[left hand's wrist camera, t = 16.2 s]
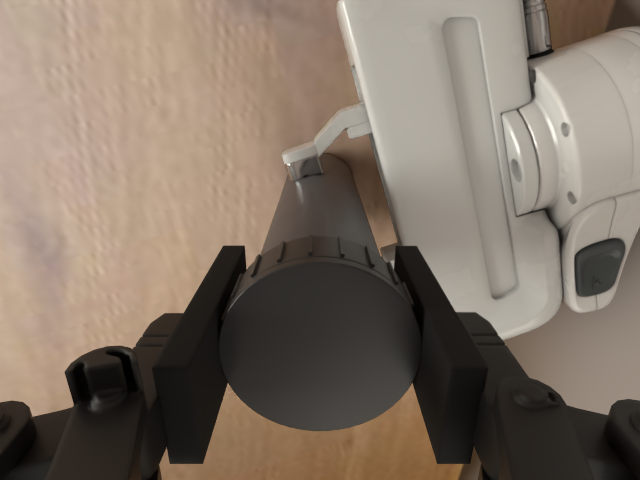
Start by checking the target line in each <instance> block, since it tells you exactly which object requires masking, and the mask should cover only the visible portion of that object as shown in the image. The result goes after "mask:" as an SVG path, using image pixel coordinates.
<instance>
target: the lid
mask: <svg viewBox="0 0 640 480" xmlns="http://www.w3.org/2000/svg"><path fill="white" fill-rule="evenodd" d="M412 307H415V305H414V303H413V301H412V298H411V296H410V293H409V291H408V289H407V286H406V284H405V282H403V283H402V282H401V280H400V279H399V277H398V275H397V274H396V272H395V271H394V269H393V266H392V264H391V262H390V261H388V262H386V261H385V260H384V259H383V258H382V257H380V256H379V255H378V254H376V253H375V252H373V251H372V250H370V247H369V246H367V245H366V247H364V246H363V245H360V244H358V243H355V242H352V241H350V240H346V239H343V237H342V236H339V237H338V238H336V237H328V236H313V235H309V237H305V238H299V239H295V240H291V241H288V242H285V241H282V242H281V243H280V245H278V246H276V247H274V248H272V249H270V250H269V251H267V252H265V253H264V254H263V255H260V254H259V255H258V256H257V257H256V260H255V261H254V262H253V263H252V264H251V265H250V266H249V268H248V269H247V270H246V272H245V273H244V274H240V276H239V278H238V280H237V283H236V285H235V287H234V290H233V292H232V295H231V296H230V299H229V301H228V303H227V306H226V308H225V311H224V313H223V315H222V318H221V322H222V325H221V329H220V334H219V342H218V343H219V355H220V363H221V367H222V370H223V373H224V375H225V377H226V380H227V382H228V383H229V385H230V386H231V388H232V389H233V391H234V392H235V393H236V395H237V396H238V397H239V398H240V399H241V400H242V401H243V402H244V403H245V404H246V405H247V406H248V407H250V408H251V409H252V410H254V411H255V412H257V413H258V414H260V415H261V416H263V417H265V418H267V419H269V420H271V421H273V422H276V423H278V424H281V425H284V426H288V427H291V428H296V429H301V430H310V431H331V430H340V429H344V428H349V427H353V426H356V425H359V424H362V423H365V422H367V421H369V420H372V419H374V418H375V417H377V416H379V415H381V414H382V413H384V412H385V411H387V410H388V409H389V408H391V407H392V406H393V405H394V404H395V403H396V402H397V401H398V400H400V399H401V397H402V396H403V395H404V394H405V393H406V391H407V390H408V389H409V387H410V385H411V384H412V382H413V381H414V378H415V376H416V374H417V371H418V369H419V365H420V357H421V348H422V336H421V331H420V327H419V324H418V321H417V319H416V316H415V314H414V311H413V309H412Z"/></svg>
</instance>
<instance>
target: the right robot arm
mask: <svg viewBox="0 0 640 480" xmlns="http://www.w3.org/2000/svg"><path fill="white" fill-rule="evenodd" d="M544 1H545V0H338V3H337V8H336V14H337V18H338V22H339V26H340V30H341V33H342V37H343V41H344V45H345V48H346V52H347V56H348V59H349V63H350V67H351V71H352V74H353V78H354V82H355V85H356V89H357V93H358V97H359V100H360V103H357V104H354V105H351V106H348V107H345V108H342V109H339V110H338V111H337V112H336V114H335V115H334V116H333V117H332V118H331V119H330V120H329V122H328V123H327V124H326V125H325V126H324V127H323V128H322V130H321V131H320V132H319V133H318V134H317V135H316V136H315V137H314V140H313V141H310V142H307V143H304V144H301V145H298V146H295V147H292V148H290V149H287V150H285V151H283V153H282V158H283V161H284V164H285V166H286V169H287V172H288V174H289V177H290V180H291V181H297V180H300V179H302V178H303V177H304V176H305V175H308V176H312V175H316V174H319V173H322V172H323V169H322V168H323V165H322V162H321V159H320V156H321V154H322V153H323V152H324V151H325V150H326V149H327V148H328V147H329V146H330V145H331V144H332V143H333V141H334V140H335V139H336V138H337V137H338V136H339V135H340V134H341V133H342V132H343V131H344V129H345V130H346V133H347V135H348V137H349V138H350V139H354V138H357V137H360V136H364V135H367V134H369V137H370V141H371V145H372V149H373V152H374V156H375V160H376V163H377V167H378V171H379V175H380V178H381V182H382V186H383V189H384V193H385V197H386V201H387V204H388V208H389V212H390V215H391V219H392V223H393V227H394V230H395V234H396V238H397V241H398V243H395V244H391V245H388V246H385V247H382V248H381V249H380V251H381V255H382V258H383V259H384V260H385V261H386V262H388V261H390V262H391V264H392V266H393V269H394V261H395V248H396V246H417V247H418V249H419V250H420V252H421V254H422V255H423V257H424V259H425V261H426V262H427V264H428V266H429V267H430V269H431V271H432V272H433V274H434V276H435V278H436V279H437V281H438V283H439V284H440V286H441V288H442V289H443V291H444V293H445V295H446V296H447V298H448V300H449V301H450V303H451V305H452V306H453V308H454V310H455V312H476V313H478V314H479V315H480V316H482V317H483V318H485V319H486V320H488V321H489V322H490V323H491V325H492V326H493V327H494V329H495V330H496V332H497V333H498V336H500V337H501V339H502V340H505V339H509V338H512V337H514V336H518V335H521V334H524V333H526V332H529V331H531V330H534V329H536V328H538V327H540V326H541V325H543V324H545V323H546V322H548V321H549V320H550V319H551V318H552V317H553V316H554V315H555V314H556V312H557V311H558V309H559V307H560V305H561V302H563V303H564V304H565V305H566V306H568V307H569V308H571V309H572V310H573V311H575V312H578V313H586V312H591V311H595V310H599V309H602V308H604V307H605V306H607V305H608V304H609V303H610V302H611V301H612V299H613V297H614V295H615V293H616V290H617V287H618V283H619V280H620V277H621V274H622V270H623V267H624V264H625V262H626V259H627V256H628V253H629V251H630V248H631V246H632V243H633V240H634V238H635V236H636V234H637V232H638V229H639V227H640V26H633V27H624V28H620V29H616V30H612V31H609V32H606V33H603V34H600V35H597V36H594V37H591V38H588V39H585V40H582V41H579V42H576V43H573V44H570V45H567V46H564V47H561V48H558V49H555V50H554V49H553V50H552V45H551V35H550V25H549V17H548V10H547V9H546V7H547V6H546V3H545V2H544Z"/></svg>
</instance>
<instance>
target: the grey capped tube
mask: <svg viewBox="0 0 640 480" xmlns="http://www.w3.org/2000/svg"><path fill="white" fill-rule="evenodd" d="M320 159H321V162H322V165H323V168H322V169H323V172H322V173H319V174H316V175H312V176H308V175H305V176H304V177H303V178H302V179H300V180H297V181H291V180H290V177H289V174H288V177H287V179H286V182H285V185H284V188H283V191H282V194H281V197H280V200H279V203H278V206H277V208H276V211H275V214H274V217H273V220H272V223H271V226H270V229H269V232H268V235H267V237H266V240H265V243H264V246H263V249H262V252H261V255H263V254H264V253H265V252H267V251H269V250H270V249H272V248H274V247H276V246H278V245H280V243H281V242H282V241H285V242H288V241H291V240H295V239H299V238H305V237H309V235H313V236H328V237H336V238H338V237H339V236H342V237H343V239H346V240H350V241H352V242H355V243H358V244H360V245H363V246H364V247H366V245H367V246H369V247H370V250H372V251H373V252H375V253H376V254H378V255H379V256H380V254H379V251H378V248H377V245H376V242H375V239H374V237H373V234H372V231H371V228H370V225H369V222H368V219H367V216H366V213H365V210H364V208H363V205H362V202H361V199H360V196H359V193H358V190H357V187H356V184H355V181H354V179H353V176H352V173H351V171H350V169H349V168H348V166H347V165H346V164H345V163H344V162H343V161H342V160H341V159H339V158H338V157H336V156H334V155H331V154H327V153H322V154H321V156H320Z"/></svg>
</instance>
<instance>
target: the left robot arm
mask: <svg viewBox="0 0 640 480" xmlns="http://www.w3.org/2000/svg"><path fill="white" fill-rule="evenodd" d="M394 271H395V272H396V274H397V275H398V277H399V279H400V280H401V282H402V283H403V282H405V284H406V286H407V289H408V291H409V293H410V296H411V298H412V301H413V303H414V305H415V307H412V309H413V311H414V314H415V316H416V319H417V321H418V324H419V327H420V331H421V336H422V348H421V357H420V365H419V369H418V371H417V374H416V376H415V378H414V381H413V382H412V383H413V386H414V389H415V392H416V396H417V399H418V402H419V405H420V409H421V412H422V415H423V419H424V422H425V425H426V428H427V432H428V435H429V438H430V441H431V445H432V448H433V451H434V454H435V458H436V461H437V464H470V462H471V457H472V452H473V446H474V447H475V449H476V452H477V454H478V456H479V459H480V461H481V467H480V472H479V476H478V480H640V401H638V400H631V399H626V400H619V401H617V402H616V403H614V404H613V405H612V406H611V409H610V412H609V415H604V414H600V413H595V412H591V411H586V410H582V409H577V408H574V407H571V406H567V405H566V403H565V402H564V400H563V399H562V397H561V396H560V395H559V394H558V393H557V392H556V391H555V390H553V389H552V388H551V387H549V386H548V385H546V384H544V383H542V382H540V381H538V380H534V379H531V378H529V377H528V376H527V374H526V373H525V371H524V370H523V369H522V367H521V366H520V364H519V363H518V362H517V360H516V359H515V357H514V356H513V354H512V353H511V352H510V350H509V349H508V347H507V346H505V343H504V342H503V340H502V339H501V337H500V336H498V333H497V332H496V330H495V329H494V327H493V326H492V325H491V323H490V322H489V321H488V320H486V319H485V318H483V317H482V316H480V315H479V314H478V313H476V312H455V310H454V308H453V306H452V305H451V303H450V301H449V300H448V298H447V296H446V295H445V293H444V291H443V289H442V288H441V286H440V284H439V283H438V281H437V279H436V278H435V276H434V274H433V272H432V271H431V269H430V267H429V266H428V264H427V262H426V261H425V259H424V257H423V255H422V254H421V252H420V250H419V249H418V247H417V246H396V248H395V261H394ZM245 272H246V258H245V246H223V247H222V249H221V251H220V252H219V254H218V256H217V258H216V259H215V261H214V263H213V264H212V266H211V268H210V269H209V271H208V273H207V275H206V276H205V278H204V280H203V281H202V283H201V285H200V286H199V288H198V290H197V292H196V293H195V295H194V297H193V298H192V300H191V302H190V303H189V305H188V307H187V309H186V310H185V312H184V313H165V314H163V315H162V316H160V317H159V318H158V319H156V320H155V321H153V322H152V323H151V324H150V325H149V327H148V328H147V329H146V331H145V332H144V334H143V337H141V338H140V339H139V341H138V342H137V344H136V347H134V348H133V349H131V348H128V347H124V346H108V347H104V348H100V349H96V350H93V351H91V352H89V353H86V354H84V355H82V356H81V357H79V358H78V359H76V360H75V361H74V362H72V363H71V364H70V365H69V367H68V368H67V369H66V371H65V375H66V378H67V382H68V385H69V389H70V392H71V395H72V399H73V402H74V406H73V407H72V408H68V409H65V410H61V411H57V412H52V413H48V414H44V415H39V416H35V417H32V414H31V411H30V408H29V407H28V406H27V405H26V404H25V403H23V402H18V401H7V402H0V480H162V478H161V472H160V467H159V464H160V461H161V459H162V456H163V454H164V452H165V449H166V447H167V450H168V456H169V461H170V464H203V462H204V458H205V455H206V452H207V449H208V445H209V442H210V439H211V436H212V432H213V429H214V426H215V423H216V419H217V416H218V413H219V409H220V406H221V403H222V400H223V396H224V393H225V390H226V387H227V383H228V382H227V380H226V377H225V375H224V373H223V370H222V367H221V363H220V355H219V343H218V342H219V334H220V329H221V325H222V322H221V318H222V315H223V313H224V311H225V308H226V306H227V303H228V301H229V299H230V296H231V295H232V292H233V290H234V287H235V285H236V283H237V280H238V278H239V276H240V274H244V273H245Z"/></svg>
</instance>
